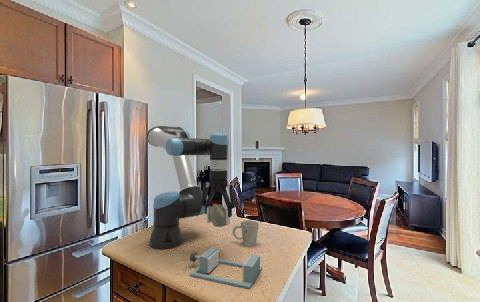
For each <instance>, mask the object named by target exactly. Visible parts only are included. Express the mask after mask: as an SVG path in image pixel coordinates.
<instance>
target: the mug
mask: <svg viewBox="0 0 480 302" xmlns="http://www.w3.org/2000/svg"><path fill="white" fill-rule="evenodd" d="M259 224H260V223H259V222H258V221H256V220H243V221H240V225H239V224H238V225H235V226H234V227H233V229H232V235H233V237H234V238H236V239H237V240H242V244H243V246H246V247H254V246H256V245H257V238H258V231H259ZM237 229H241V235H242V237H239V236H237V234H236V230H237Z"/></svg>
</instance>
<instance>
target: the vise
mask: <svg viewBox="0 0 480 302" xmlns="http://www.w3.org/2000/svg"><path fill="white" fill-rule="evenodd" d="M219 264H223V265H227V266H232V267H239V268H242V281H239V280H235V279H229V278H225V277H218V276H215V275H210V274H204V273H199V265H198V266H197V267H196V268H194V269H193V270H192V271H191V272H190V273H189V277H193V278H197V279H202V280H206V281H210V282H215V283H219V284H224V285H227V286H232V287H237V288H242V289H247V290H251V288H252V286H254V285H253V284H254V283H255V281H256V280H257V278H258V277H259V275H260V273H261V271H262V270H263V267H262V266H261V255H256V254H251V255H250V256H248V258H247V259H246V261H245V262H244V263H242V262H238V261H231V260H226V259H221V258H219Z"/></svg>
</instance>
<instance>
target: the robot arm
mask: <svg viewBox="0 0 480 302" xmlns="http://www.w3.org/2000/svg"><path fill="white" fill-rule="evenodd" d="M190 135H191V134H190V131H189V130H188V129H187V128H185V127H181V126H167V125H165V126H164V125H156V126H153V127H151V128H149V129H148V130H147V132H146V134H145V138H146V142H147V143H148V144H149V145H151V146H153V147H156V148H157V147H160V148H162V149H164V150H165V151H166V154H167V155H169V156H172V160H173V165H174V169H175V174H176V176H177V180H178V184H179V188H180V190H179V191H168V192H167V191H166V192H163V193H160V194H157V195H156V196H155V197H154V198H153V207H152V208H153V229H152V231H151V233H150V238H149V246H150V248H154V249H159V250H165V249H166V250H167V249H173V248H176V247H179V246H181V244H183V243H184V236H183V233H182V230H181V227H180V219H186V218H192V217H198V216H202V215H204V214H205V215H206V224H210V223H212V222H211V221H210V219H209V210H210V209H211V207H212V206H211V203H212V200H213V198H214V196H215V194H216V193H220V194H221V195H222V198H223V200H224V203H225V206H226V208H225V209H226V225H225V226H229V225H230V223H231V219H230V218H231V217H233V210H234V209H235V208H236V207H237V202H236V200H237V199H236V196H235V184H234V183H229V181H228V168H229V167H228V163H229V161H228V160H229V159H228V158H229V157H228V155H229V154H228V151H229V142H228V141H229V140H228V139H229V138H228V135H227V134H226V133H222V132H220V133H218V132H217V133H216V132H214V133H211V134H210V136H209V138H194V137H193V138H192V137H191V136H190ZM190 156H209V169H210V170H209V182H208V181H206V182H203V183H202V187H203V190H202V188H201V186H200V185H198V184H197V180H196V176H195V173H194V171H193V167H192V163H191V159H190ZM209 188H211V189H210V191H209ZM227 188H228V191H227ZM208 193H209V194H208ZM228 193H229V195H228Z"/></svg>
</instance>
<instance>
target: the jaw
mask: <svg viewBox="0 0 480 302" xmlns="http://www.w3.org/2000/svg"><path fill="white" fill-rule="evenodd" d="M219 259H220V258H219V249H218V248H217V247H213V246H210V247H209V248H208V249H207V250H205V251H204V252H203V253H201V255H198V252H197V251H195V250H193V251H191V253H190V255H189V261H190V262H192V263H195V262H196V261H197V260H198V261H199V262H198V266H199V272H198V273H201V274H205V275H208V274H210V273H211V272H212V271H213V270H214V269H215V268H216V267H217V265H219V264H220V263H219Z"/></svg>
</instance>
